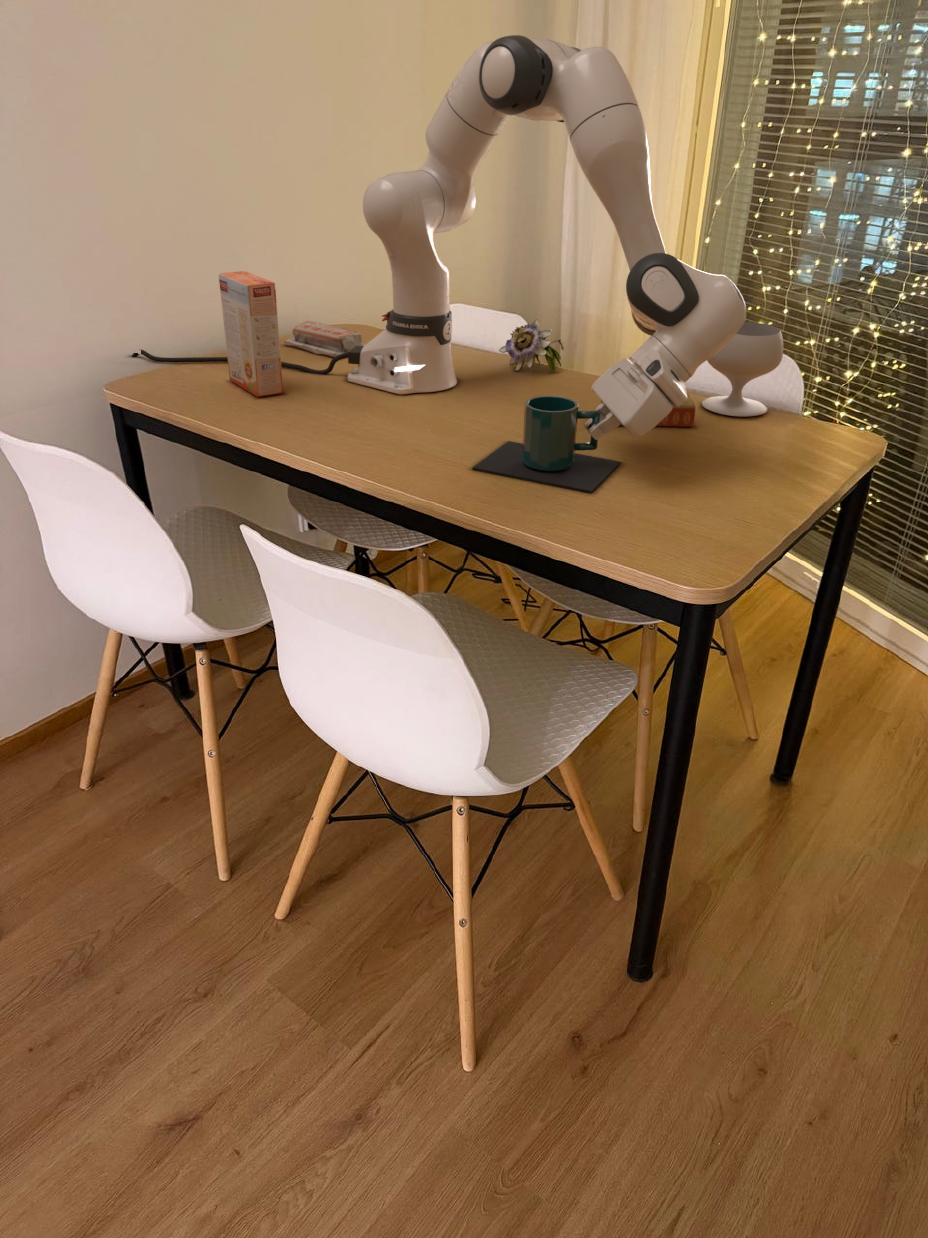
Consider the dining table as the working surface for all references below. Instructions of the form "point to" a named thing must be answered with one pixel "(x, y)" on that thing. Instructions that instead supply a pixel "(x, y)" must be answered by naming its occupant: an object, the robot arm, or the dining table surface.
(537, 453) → the mug
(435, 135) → the robot arm
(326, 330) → the packaged product
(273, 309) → the cracker box
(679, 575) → the dining table surface
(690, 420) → the carton
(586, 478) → the placemat
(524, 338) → the passion flower
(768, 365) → the chalice
